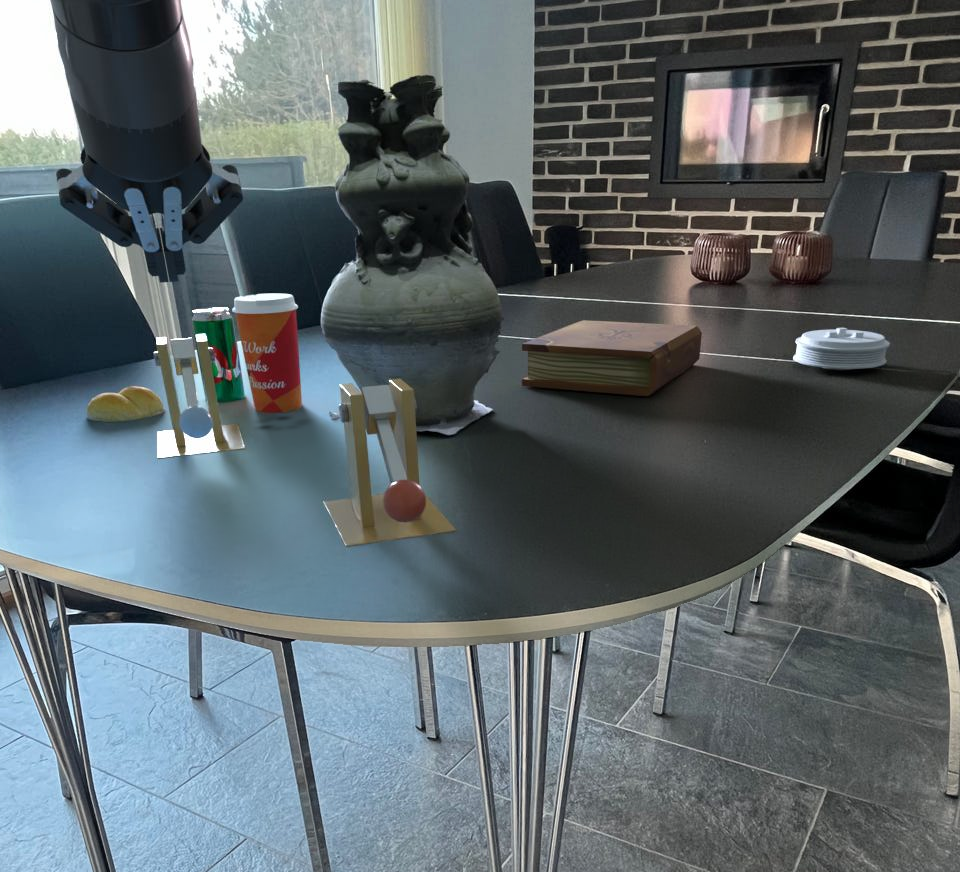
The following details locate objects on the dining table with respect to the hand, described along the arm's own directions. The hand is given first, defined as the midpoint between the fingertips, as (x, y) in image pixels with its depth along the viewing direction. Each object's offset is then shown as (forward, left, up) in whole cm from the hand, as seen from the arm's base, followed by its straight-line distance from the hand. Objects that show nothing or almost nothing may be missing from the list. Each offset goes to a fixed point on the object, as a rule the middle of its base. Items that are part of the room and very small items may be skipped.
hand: (168, 273), depth 69 cm
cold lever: (0, +17, -14) cm, 22 cm away
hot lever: (+14, -14, -14) cm, 24 cm away
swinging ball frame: (+14, -11, -20) cm, 27 cm away
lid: (+90, +28, -20) cm, 96 cm away
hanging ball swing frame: (0, +20, -20) cm, 28 cm away
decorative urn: (+26, +25, -20) cm, 41 cm away
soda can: (+4, +40, -20) cm, 45 cm away
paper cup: (+10, +32, -20) cm, 39 cm away
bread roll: (-8, +37, -20) cm, 43 cm away
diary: (+58, +36, -20) cm, 71 cm away
